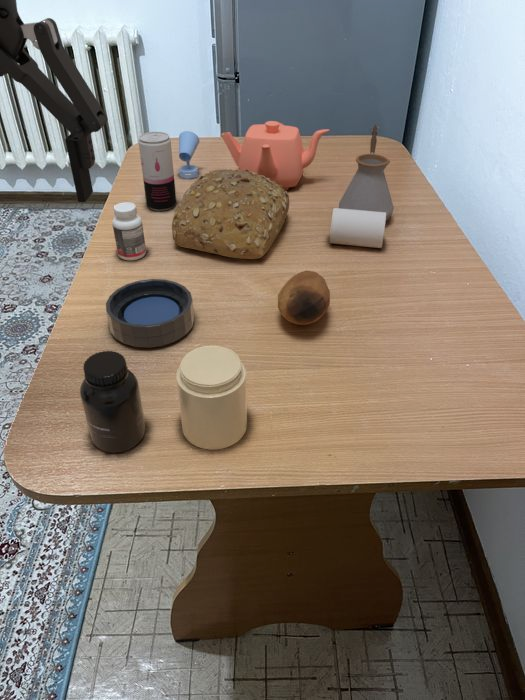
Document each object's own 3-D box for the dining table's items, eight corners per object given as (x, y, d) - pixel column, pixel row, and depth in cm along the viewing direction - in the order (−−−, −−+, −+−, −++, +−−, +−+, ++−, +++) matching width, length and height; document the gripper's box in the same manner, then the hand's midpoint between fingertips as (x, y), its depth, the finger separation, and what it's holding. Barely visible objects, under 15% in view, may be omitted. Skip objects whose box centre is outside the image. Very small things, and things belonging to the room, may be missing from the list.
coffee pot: (391, 233, 115) (403, 161, 106) (335, 228, 117) (342, 156, 107) (392, 191, 132) (402, 125, 122) (342, 187, 133) (349, 122, 124)
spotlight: (182, 168, 142) (176, 179, 136) (179, 127, 136) (172, 137, 130) (202, 169, 141) (196, 180, 136) (199, 128, 135) (193, 138, 130)
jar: (176, 447, 71) (168, 385, 64) (188, 400, 77) (182, 340, 71) (243, 451, 70) (242, 390, 64) (249, 404, 77) (249, 343, 70)
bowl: (100, 348, 86) (94, 324, 83) (123, 299, 96) (119, 277, 93) (186, 352, 85) (183, 329, 82) (200, 303, 95) (198, 280, 93)
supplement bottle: (90, 458, 69) (70, 386, 62) (92, 418, 74) (74, 348, 67) (147, 450, 70) (134, 378, 63) (145, 411, 75) (133, 341, 68)
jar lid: (180, 336, 87) (179, 326, 86) (123, 340, 86) (121, 330, 85) (180, 304, 94) (179, 295, 93) (127, 307, 93) (125, 298, 92)
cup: (381, 238, 114) (332, 233, 115) (386, 206, 110) (335, 202, 111) (380, 254, 109) (328, 249, 110) (385, 222, 104) (331, 217, 106)
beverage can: (179, 199, 127) (173, 131, 118) (173, 212, 122) (166, 142, 113) (151, 198, 128) (142, 130, 118) (143, 210, 123) (134, 141, 113)
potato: (297, 314, 98) (338, 292, 96) (294, 347, 86) (340, 323, 84) (275, 279, 96) (315, 255, 94) (267, 308, 84) (314, 281, 82)
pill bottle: (115, 250, 109) (107, 202, 103) (142, 245, 111) (136, 198, 105) (121, 263, 105) (112, 215, 99) (149, 258, 107) (142, 210, 101)
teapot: (325, 185, 134) (330, 125, 126) (264, 204, 126) (264, 141, 117) (279, 162, 146) (280, 105, 137) (219, 178, 137) (216, 119, 128)
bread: (202, 203, 126) (198, 149, 119) (295, 214, 122) (298, 159, 114) (159, 255, 108) (152, 196, 100) (267, 271, 104) (268, 210, 96)
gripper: (116, -49, 49) (146, 184, 63) (-157, -53, 51) (-71, 176, 64) (89, -41, 44) (129, 214, 57) (-218, -46, 45) (-109, 204, 58)
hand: (23, 194), depth 61 cm, fingers open, 13 cm apart
